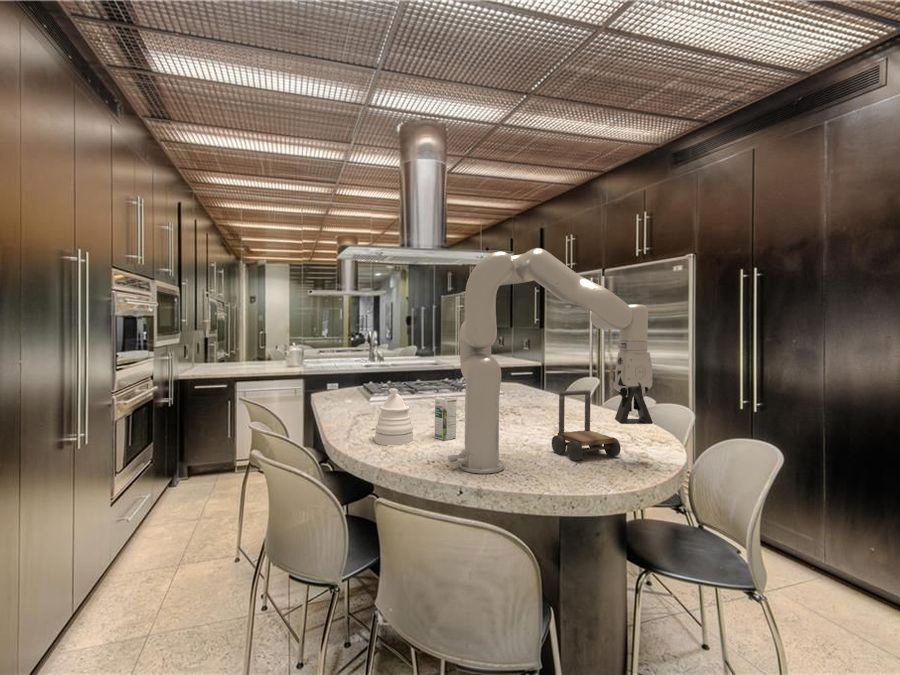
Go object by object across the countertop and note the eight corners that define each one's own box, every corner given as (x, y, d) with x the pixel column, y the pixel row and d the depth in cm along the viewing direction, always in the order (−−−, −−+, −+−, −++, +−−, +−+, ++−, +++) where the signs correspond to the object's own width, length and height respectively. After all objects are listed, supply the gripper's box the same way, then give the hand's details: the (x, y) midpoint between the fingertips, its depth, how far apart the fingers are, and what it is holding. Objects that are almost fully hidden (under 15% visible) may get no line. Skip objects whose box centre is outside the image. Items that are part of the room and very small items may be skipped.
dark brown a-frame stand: (619, 423, 131) (619, 381, 131) (614, 419, 137) (614, 379, 137) (652, 424, 130) (652, 381, 130) (646, 419, 136) (645, 379, 136)
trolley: (578, 463, 133) (579, 397, 133) (551, 451, 146) (552, 391, 146) (620, 458, 139) (621, 394, 139) (591, 447, 152) (591, 389, 151)
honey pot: (411, 446, 152) (411, 391, 151) (372, 445, 152) (372, 391, 152) (414, 437, 164) (415, 386, 164) (378, 436, 165) (379, 386, 164)
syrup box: (433, 438, 163) (434, 397, 163) (445, 435, 167) (446, 395, 167) (444, 441, 159) (444, 399, 159) (456, 438, 163) (457, 397, 163)
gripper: (619, 348, 127) (619, 414, 127) (665, 347, 133) (664, 410, 133) (601, 347, 134) (600, 410, 134) (645, 346, 140) (644, 406, 140)
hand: (632, 409), depth 133 cm, fingers closed on dark brown a-frame stand, 3 cm apart
